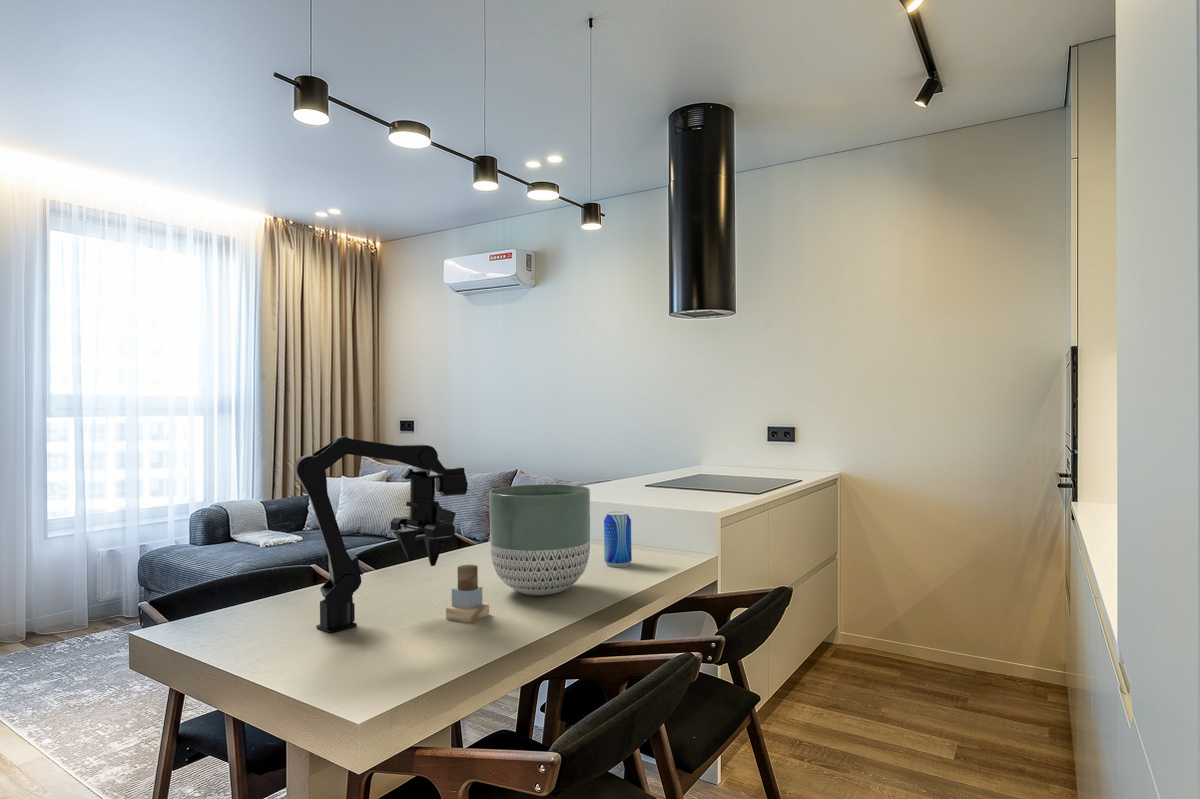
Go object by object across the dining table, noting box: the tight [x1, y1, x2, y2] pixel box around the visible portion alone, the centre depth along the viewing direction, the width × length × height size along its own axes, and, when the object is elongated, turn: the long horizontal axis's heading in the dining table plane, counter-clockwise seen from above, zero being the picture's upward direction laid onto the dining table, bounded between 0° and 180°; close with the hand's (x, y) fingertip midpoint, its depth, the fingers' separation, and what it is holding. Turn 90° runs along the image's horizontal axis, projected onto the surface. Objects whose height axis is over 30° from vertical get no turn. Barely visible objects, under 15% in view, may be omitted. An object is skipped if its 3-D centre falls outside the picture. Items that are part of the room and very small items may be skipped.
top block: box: [451, 585, 484, 609], centre depth 160 cm, size 5×5×4 cm
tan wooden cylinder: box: [457, 564, 479, 591], centre depth 160 cm, size 5×5×5 cm
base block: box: [445, 602, 490, 624], centre depth 160 cm, size 7×7×3 cm
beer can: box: [603, 510, 633, 568], centre depth 211 cm, size 8×8×16 cm
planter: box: [488, 483, 591, 596], centre depth 181 cm, size 27×27×27 cm
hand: (421, 563), depth 163 cm, fingers open, 9 cm apart
